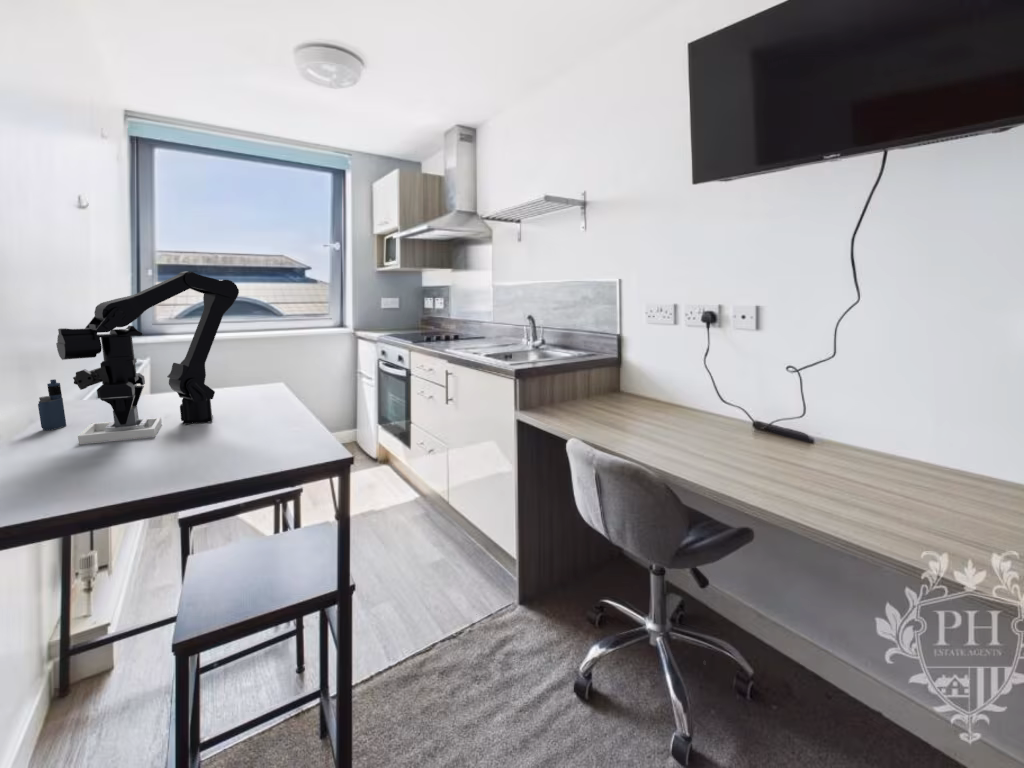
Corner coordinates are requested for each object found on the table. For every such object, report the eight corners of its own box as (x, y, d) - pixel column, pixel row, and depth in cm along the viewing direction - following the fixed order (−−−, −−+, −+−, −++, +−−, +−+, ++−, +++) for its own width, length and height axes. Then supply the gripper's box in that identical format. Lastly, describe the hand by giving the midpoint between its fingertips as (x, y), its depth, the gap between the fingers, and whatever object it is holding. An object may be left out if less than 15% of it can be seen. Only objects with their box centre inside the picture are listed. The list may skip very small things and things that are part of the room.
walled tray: (161, 425, 127) (161, 417, 127) (155, 436, 117) (154, 428, 117) (92, 431, 121) (91, 423, 120) (78, 444, 110) (77, 435, 110)
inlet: (149, 427, 124) (148, 418, 124) (144, 434, 118) (143, 425, 117) (112, 430, 121) (111, 421, 120) (105, 438, 114) (104, 428, 114)
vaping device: (69, 425, 126) (62, 379, 124) (48, 430, 120) (41, 382, 118) (60, 425, 126) (53, 378, 124) (39, 430, 121) (31, 382, 119)
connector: (139, 429, 122) (136, 402, 121) (136, 433, 118) (133, 405, 117) (119, 431, 120) (116, 404, 119) (116, 435, 116) (112, 407, 115)
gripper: (85, 352, 120) (93, 415, 123) (61, 362, 104) (72, 433, 107) (141, 351, 125) (148, 410, 128) (127, 359, 109) (136, 427, 112)
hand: (127, 420), depth 119 cm, fingers open, 9 cm apart
